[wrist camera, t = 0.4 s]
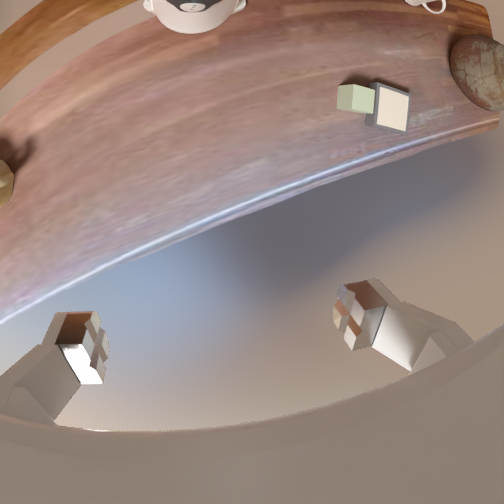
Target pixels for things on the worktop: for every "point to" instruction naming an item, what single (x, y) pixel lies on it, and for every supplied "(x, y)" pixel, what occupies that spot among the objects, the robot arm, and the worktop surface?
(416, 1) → the mug
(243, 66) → the worktop surface
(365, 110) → the green block
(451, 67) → the jug
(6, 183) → the sugar bowl
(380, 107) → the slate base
